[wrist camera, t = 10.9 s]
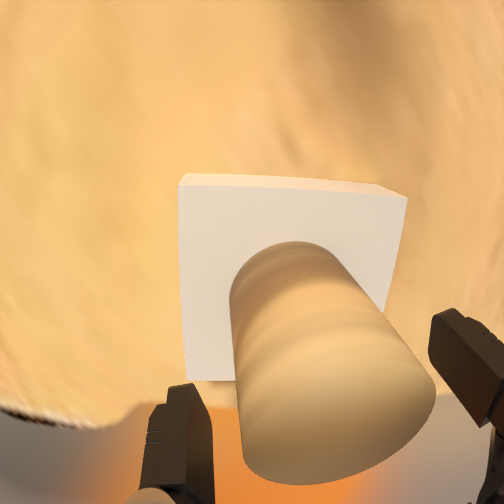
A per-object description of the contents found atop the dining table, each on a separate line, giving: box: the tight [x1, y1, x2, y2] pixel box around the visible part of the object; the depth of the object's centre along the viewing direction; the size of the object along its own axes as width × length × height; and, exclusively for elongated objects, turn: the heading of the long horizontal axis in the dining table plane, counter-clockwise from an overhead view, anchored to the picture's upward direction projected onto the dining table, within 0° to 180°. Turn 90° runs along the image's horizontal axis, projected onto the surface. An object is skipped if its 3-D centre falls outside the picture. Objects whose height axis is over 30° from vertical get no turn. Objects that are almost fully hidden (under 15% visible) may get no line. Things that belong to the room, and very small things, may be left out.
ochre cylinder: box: [229, 241, 436, 485], centre depth 10 cm, size 5×5×7 cm
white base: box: [178, 174, 408, 381], centre depth 14 cm, size 9×9×3 cm
